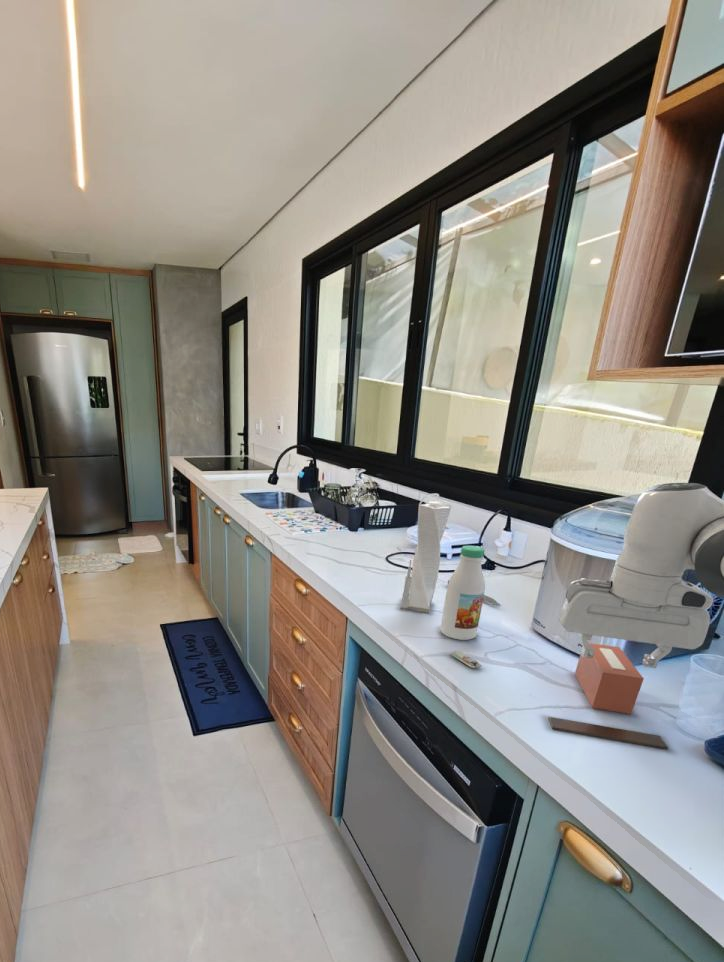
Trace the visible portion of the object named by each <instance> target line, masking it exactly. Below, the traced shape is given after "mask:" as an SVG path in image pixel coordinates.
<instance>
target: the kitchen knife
mask: <svg viewBox="0 0 724 962" xmlns="http://www.w3.org/2000/svg"><path fill="white" fill-rule="evenodd" d="M449 580H450V579H448V581H447V584H448V583H449ZM483 602H485V603H487V604H490V605H493V606H498V607H501V606H503V605H502V604H501V603H499V602H498V601H497V600H496V599H495V598H493V597H491V596H489V595H486V594H484V597H483Z"/></svg>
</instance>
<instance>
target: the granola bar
mask: <svg viewBox="0 0 724 962" xmlns="http://www.w3.org/2000/svg"><path fill="white" fill-rule="evenodd" d="M449 655H451V656H452V657H453V658H455V659H456V660H458V661H460V662H462V663H463V664H465V665H466V666H468V667H470V668H471V669H472V668H473V669H475V668H477V667H481V666H482V665H481V664H480V663H479V662H478V660H475V659H474V658H472V657H471V656H469V655H467V654H465V653H464V652H462V651H460V650H455V651H453V652H451V651H450V652H449Z"/></svg>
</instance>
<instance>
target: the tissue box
mask: <svg viewBox="0 0 724 962" xmlns="http://www.w3.org/2000/svg"><path fill="white" fill-rule="evenodd" d="M588 645H589V646H593V648H594V649H595V653H594V654H593V658H584V657H582V656H581V653H580V654H579V657H578V661H577V664H576V668H575V671H574V676H575V678H576V680H577V683H578V684H579V686H580V688H581V690H582V692H583V693H584V695H585V697H586V699H587V701H588V702H589V705H590V707H591V708H592V709H598V710H603V711H610V712H616V713H620V714H621V713H622V714H627V715H632V714H633V711H634V708H635V706H636V705H635V704H636V702H637V699H638V697H639V693H640V692H641V691H640V690H641V688H642V685H643V682H644V676H643V675H642V674H641V673H640V672H639V670H638V669H637V668H636V666H635V665H634V664H633V662H631V660H630V659H629V658H628V656H627V654H626V653H625V652H624V651H623V650H622V648H621V647H620V646H613V645H607V644H600V643H599V644H598V643H591V642H588Z"/></svg>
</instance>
